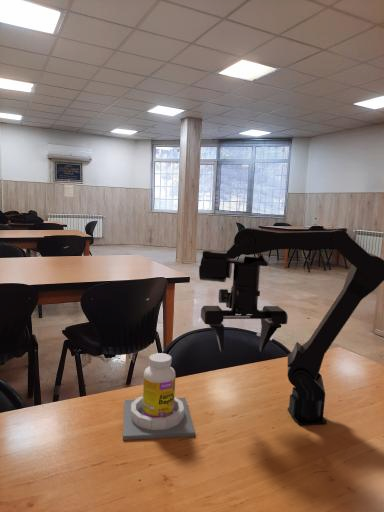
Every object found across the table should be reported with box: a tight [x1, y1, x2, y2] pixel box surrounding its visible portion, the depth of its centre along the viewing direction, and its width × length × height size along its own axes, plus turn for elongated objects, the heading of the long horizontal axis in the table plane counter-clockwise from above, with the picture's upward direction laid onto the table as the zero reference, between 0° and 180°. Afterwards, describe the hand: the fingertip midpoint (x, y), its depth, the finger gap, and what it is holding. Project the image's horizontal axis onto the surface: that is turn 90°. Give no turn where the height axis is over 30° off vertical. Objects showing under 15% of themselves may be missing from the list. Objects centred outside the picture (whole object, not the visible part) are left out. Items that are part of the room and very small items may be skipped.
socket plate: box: [122, 395, 196, 441], centre depth 81 cm, size 14×14×3 cm
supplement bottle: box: [142, 352, 176, 418], centre depth 80 cm, size 7×7×13 cm
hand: (241, 351), depth 86 cm, fingers open, 9 cm apart
